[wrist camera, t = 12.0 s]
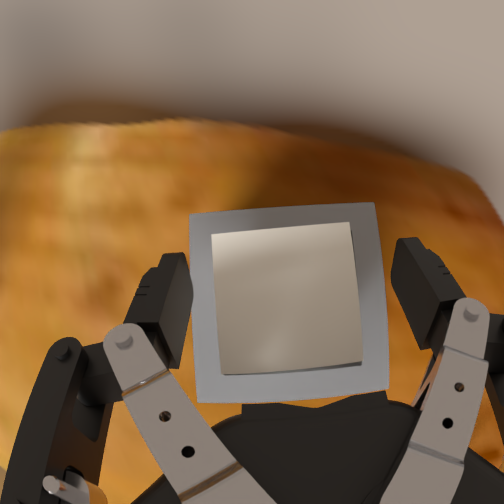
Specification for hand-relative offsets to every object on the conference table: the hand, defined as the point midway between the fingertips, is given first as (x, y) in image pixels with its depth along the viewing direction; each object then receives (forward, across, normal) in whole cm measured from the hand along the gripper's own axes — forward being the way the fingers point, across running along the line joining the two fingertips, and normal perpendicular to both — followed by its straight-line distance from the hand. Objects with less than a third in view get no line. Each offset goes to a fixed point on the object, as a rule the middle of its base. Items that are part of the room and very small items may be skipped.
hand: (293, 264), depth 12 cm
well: (+8, 0, +10) cm, 13 cm away
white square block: (+8, 0, +10) cm, 12 cm away
